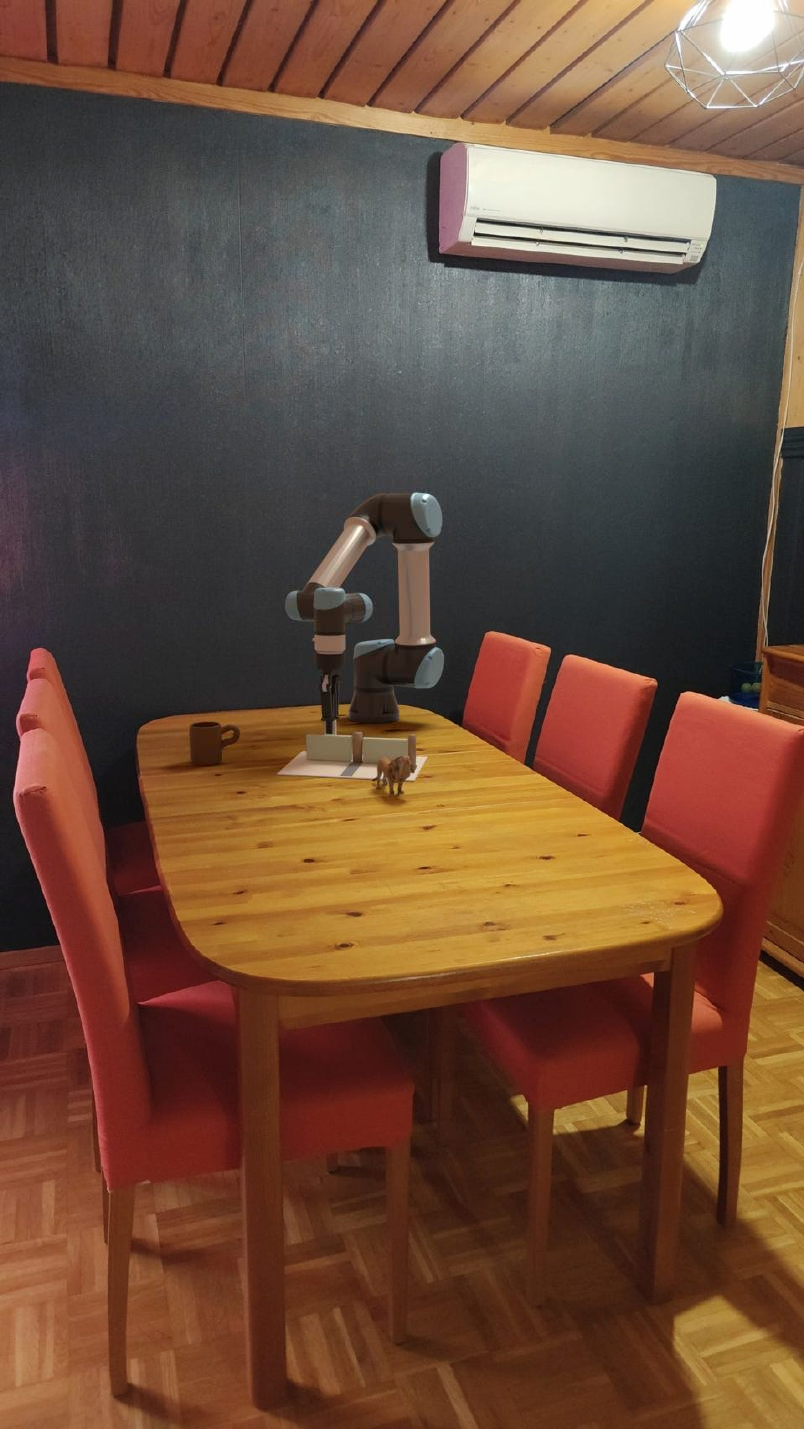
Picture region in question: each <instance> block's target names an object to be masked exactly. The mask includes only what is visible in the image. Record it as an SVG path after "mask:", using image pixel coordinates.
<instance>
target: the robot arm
mask: <svg viewBox="0 0 804 1429" xmlns="http://www.w3.org/2000/svg"><path fill="white" fill-rule="evenodd" d="M442 527H443V514H442V509H441V505H440V504H439V502H438V500H437V498H436V497H434V495H431V494H430V493H425V492H424V493H422V492H405V493H402V492H401V493H400V492H397V493H396V492H395V493H392V492H391V493H389V492H386V493H380V494H379V493H378V494H375V495H374V496H371V497H369V498H368V499H366V500H365V501H363V502H362V503H361V504H359V505H358V506H357V507H355V509H354V510H353V511H352V512H351V514H350V515H349V516H348V517H347V518H346V520H345V521H344V524H343V531H342V533H341V534H340V535H339V537H338V539H337V540H336V541H335V543H334V544H333V545H332V547H331V549H329V551H328V553H327V554H326V556H325V557H324V559H322V562H321V563H320V564H319V566H318V567H317V569H316V570H315V572H314V573H313V575H312V576H311V578H310V579H309V581H308V582H307V583H306V585H305V586H304V588H303V589H302V590H300V589H299V590H298V589H297V590H293V591H291V592H289V593H288V594H287V596H286V598H285V602H284V603H285V604H284V606H285V607H284V608H285V612H286V613H287V614H286V615H287V616H288V617H289V618H290V619H291V620H294V621H295V620H296V621H300V622H301V621H302V622H313V623H314V637H313V638H312V642H313V643H314V650H315V651H316V652H315V653H314V668H316V669H319V670H320V669H321V670H322V671H321V673H322V674H321V675H320V683H319V685H318V688H319V692H320V693H319V694H320V707H321V708H320V710H321V719H320V721H321V722H324V725H323V726H324V727H323V728H324V729H323V730H324V731H323V732H324V734H327V735H338V734H337V720H340V719H341V716H339V713H340V712H339V708H340V707H339V706H340V688H341V687H340V686H341V680H342V678H341V676H340V674H339V670H341V669H344V668H345V667H346V653H345V652H344V651H345V650H346V626H347V625H355V624H357V625H358V624H361V623H364V622H366V621H368V620H369V619H370V618H371V617H372V615H373V611H374V610H373V609H374V607H373V606H374V605H373V602H372V600H371V599H370V597H369V596H368V595H367V594H365V593H362V592H352V593H346V591H345V589H343V587H342V588H341V585H342V584H343V582H344V581H345V580H346V578H347V576H348V575H349V573H350V572H351V570H352V569H353V568H354V566H355V564H356V563H357V561H358V560H359V559H360V558H361V556H362V554H363V553H364V551H365V550H366V548H367V547H369V546H371V545H372V544H374V542H376V540H377V539H378V538H381V537H391V540H392V541H391V542H392V543H391V544H392V545H393V546H394V547H395V548H396V549H397V560H398V561H397V564H398V565H397V566H398V568H397V569H398V603H399V604H398V609H399V610H398V611H399V612H398V613H399V635H398V637H397V638H396V639H395V640H394V639H393V638H391V639H390V638H385V639H384V638H383V639H375V640H374V639H373V640H366V641H361V642H358V643H356V644H355V646H354V649H353V650H354V651H353V658H352V659H353V688H354V690H353V691H354V692H353V695H352V699H351V702H350V705H349V708H348V713H347V714H348V716H347V719H348V720H350V721H352V722H357V723H362V724H363V723H364V724H383V723H384V724H385V723H392V722H395V721H398V720H399V719H400V716H401V715H400V713H401V712H400V708H399V704H398V701H397V699H396V695H395V688H394V686H398V687H399V686H400V687H406V688H407V687H409V688H415V689H430V688H433V687H434V686H435V685H436V684H437V683H438V682H439V680H440V679H441V676H442V674H443V670H444V665H445V655H444V653H443V650H442V649H441V648H439V647H437V644H436V642H437V640H436V638H434V637H433V635H431V601H430V600H431V597H430V596H431V595H430V590H431V588H430V548H431V547H432V546H433V545H434V544H435V538H436V537H438V536H440V534H441V531H442Z"/></svg>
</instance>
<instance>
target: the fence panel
mask: <svg viewBox="0 0 804 1429" xmlns="http://www.w3.org/2000/svg"><path fill="white" fill-rule="evenodd" d="M305 746H306V747H305V748H306V750H305V751H306V759H313V760H335V761H351V760H352V753H353V748H352V734H351V735H347V734H337V735H327V734H323V733H322V734H321V733H307V734H306V735H305Z"/></svg>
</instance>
